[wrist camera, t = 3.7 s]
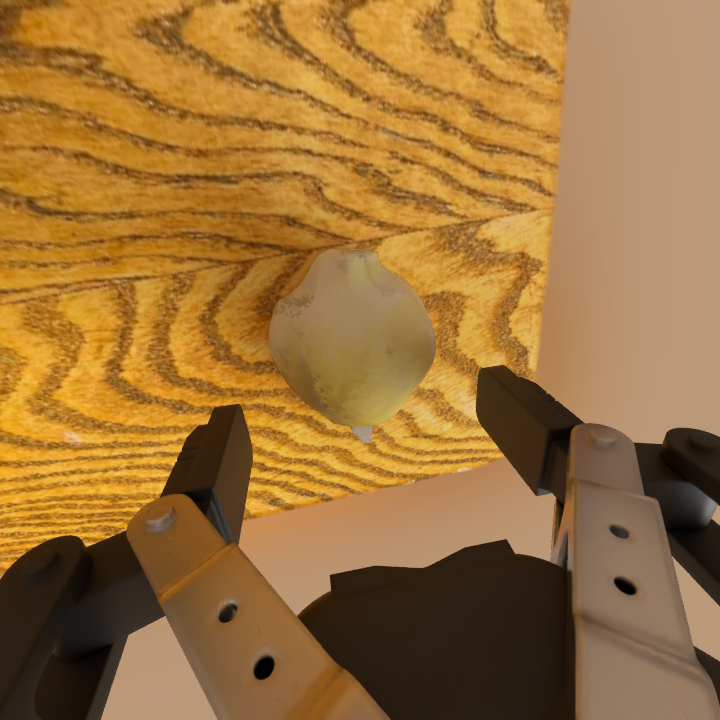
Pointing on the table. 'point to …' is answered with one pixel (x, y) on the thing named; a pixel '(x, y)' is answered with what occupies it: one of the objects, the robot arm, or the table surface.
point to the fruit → (352, 339)
